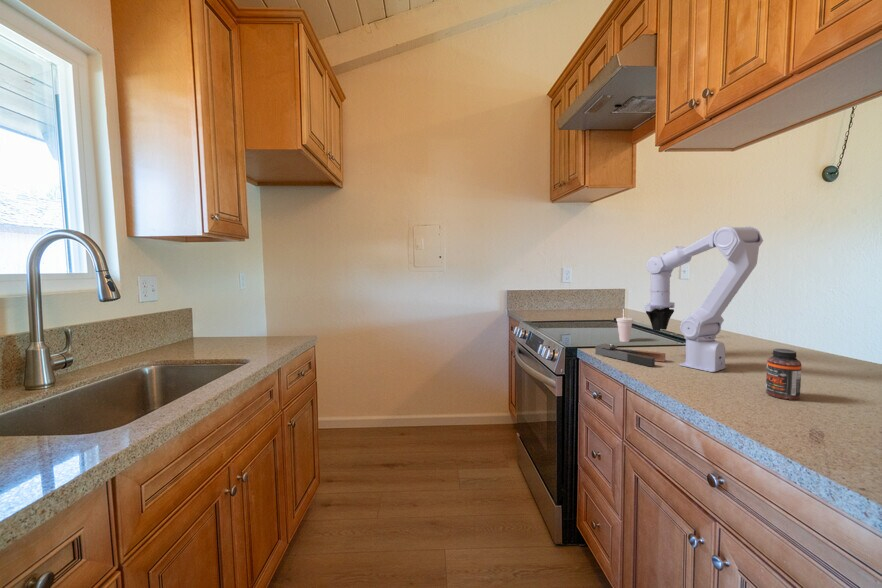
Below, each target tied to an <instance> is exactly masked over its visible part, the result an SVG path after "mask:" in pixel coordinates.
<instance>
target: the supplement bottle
mask: <svg viewBox="0 0 882 588" xmlns="http://www.w3.org/2000/svg"><path fill="white" fill-rule="evenodd" d="M802 366H803V365H802V361H800V360H799V359H797V351H796V350H794V349H788V348H773V350H772V356H770V357H769V358H767V361H766V379H765V381H766V382H765V393H766V394H767V395H769V396H770V397H773V398H777V399H780V398H781V399H780V400H786V399H789V400H788V401H793V400H798V399H800V397H801V387H802V385H801V382H802Z"/></svg>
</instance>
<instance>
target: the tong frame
mask: <svg viewBox="0 0 882 588" xmlns="http://www.w3.org/2000/svg"><path fill="white" fill-rule="evenodd" d="M614 348H619V347H618V345H616V344H615V343H609V344H608V343H603V344H598V345H595V348H594V349H595V351H594V352H595V355H598V356H603V357H609V358H614V359H618V360H620V361H625V362H629V363H634V364H636V365H637V364H638V365H642V366H646V367H650V368H652V367H655V366H656V361H655V358H652V357H647V356H642V355H637V354H633V353H626V352H622V351H617V350H612V349H614Z"/></svg>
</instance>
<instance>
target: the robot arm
mask: <svg viewBox="0 0 882 588" xmlns="http://www.w3.org/2000/svg"><path fill="white" fill-rule="evenodd" d="M763 242H764V239H763V237H762V235H761V233H760V231H759V230H758V229H757V228H755V227H754V226H743V227H742V226H741V227H740V226H739V227H736V226H735V227H733V226H722V227H720V228H719V229H716V230H713V231H711V233H710V234H708V235H706V236H704V237H702V238H701V239H698V240H697V241H694V242H693V243H692V244H689V245H687V246H686V247H685V246H677V245H676V246H673V247H672V250H670V251H668V252H664V253H661V254H660V256H651V258H649V259H648V260H647V262H646V269H647V271H648V272H649V273H650V297H649V298H650V302H648V303H647V304H646V305H644V311H645V313H646V315H647V316H648V319H649V320H650V324H651V328H652V330H653V331H655V332H656V331H657V332H660V331H661V330H666V331H667V329H668V324H669V321H670V319H671V318H672V315H673V314H674V313H675V302H671V301H670V300H671V298H670V295H671V292H670V291H671V290H670V289H671V285H670V284H671V277H672V272H673V271H674V270H675V269H676V268H678V267H682V266H683V265H685V264H688V263H690V262H691V260H692V257H694V256H697V255H699V254H701V253H704V252H707V251H709V250H712V249H714V248H717V250H718V251H719V252H720V253H721V254H722V256H723V257H724V258H725V259H726V260H727V262H728V264H727V266H726V267H725V269H724V270H723V272H722V273H721V275H720V276H719V278H718V280H717V281H716V283H715V284H714V286H713V287H712V289H711V290H710V292H709V294H708V295H707V296H706V297H705V300H704V301H703V303H702V304H701V306H700V307H699V308H697V309H696V310H694V311H692V312H690V314H689V315H688V317H686V318H685V319H683V320H682V321H681V322H680V324H679V325H680V326H679V330H680V333H681V334H682V335H683V336H684V339H685V361H683V362H681V363H679V366H682V367H685V368H691V369H696V370H701V371H704V372H705V371H706V372H710V373H716V372H718V371H721V370H725V369H726V368H727V366H726V346H725V343H724V342H721V341H718V340H716V339H717V336H718V335H719V333H720V332H721V329H722V324H723V322H724V320H725V319H724V317H723V316H722V315H723V313H724V312H725V310H726V309H727V308H728V306H729V305H730V304H731V302H732V301H733V299H734V298H735V296H736V295H737V293H738V292H739V290H740V289H741V288H742V286H743V285H744V284H745V282H746V281H747V279H748V278H749V276H750V274H752V272H753V270H754V269H755V268H756V266H757V265H758V256H759V249H760V246H761V245H762V244H763Z"/></svg>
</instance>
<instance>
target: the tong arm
mask: <svg viewBox="0 0 882 588" xmlns="http://www.w3.org/2000/svg"><path fill="white" fill-rule="evenodd" d="M612 350H617V351H622V352H626V353H633V354H637V355H642V356H647V357H652V358H655V362H663V363H664V362H665V361H666V352H658V351H649V350H642V349H641V350H638V349H629V348H628V349H627V348H620V347H618V348H614V349H612Z"/></svg>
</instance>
